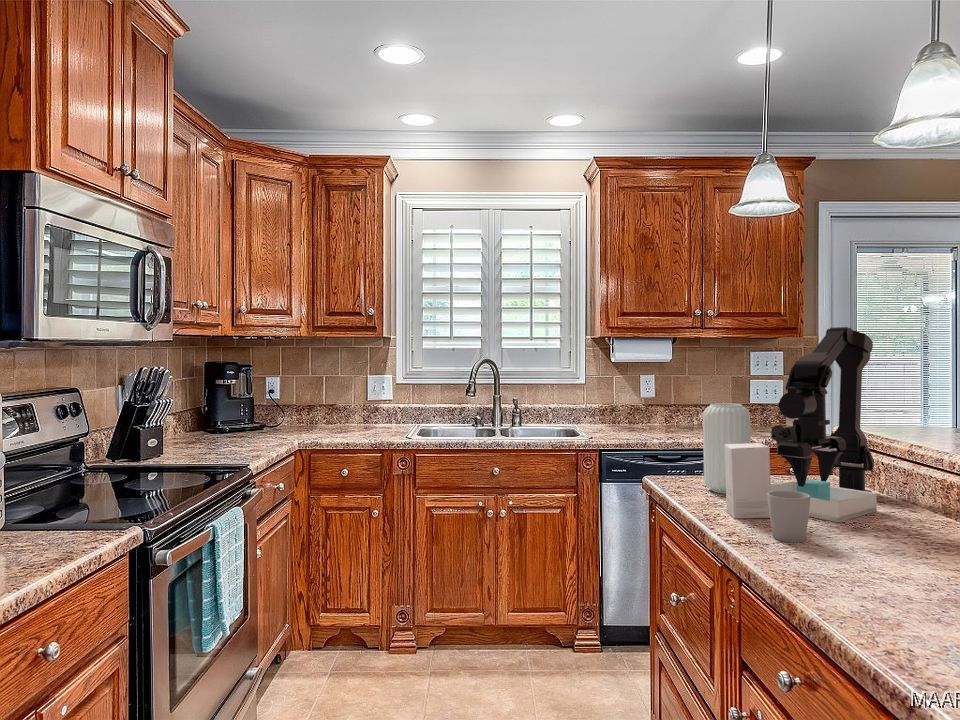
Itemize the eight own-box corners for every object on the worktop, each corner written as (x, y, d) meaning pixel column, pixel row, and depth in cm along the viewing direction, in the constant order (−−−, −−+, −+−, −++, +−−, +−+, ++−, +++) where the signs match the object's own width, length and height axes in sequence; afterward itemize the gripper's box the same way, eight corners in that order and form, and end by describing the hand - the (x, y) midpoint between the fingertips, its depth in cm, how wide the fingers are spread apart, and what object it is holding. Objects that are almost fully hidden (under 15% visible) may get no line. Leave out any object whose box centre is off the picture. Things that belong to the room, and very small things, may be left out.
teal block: (808, 500, 159) (808, 479, 159) (830, 504, 154) (829, 482, 154) (796, 503, 156) (796, 481, 156) (818, 507, 152) (817, 484, 152)
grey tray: (791, 496, 168) (791, 480, 168) (876, 511, 151) (876, 493, 151) (752, 505, 159) (752, 488, 159) (838, 522, 142) (838, 503, 142)
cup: (767, 542, 129) (767, 497, 129) (767, 529, 138) (767, 487, 138) (812, 545, 126) (811, 499, 126) (809, 532, 135) (808, 489, 135)
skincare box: (763, 512, 153) (762, 442, 152) (773, 519, 146) (771, 446, 146) (724, 512, 153) (723, 442, 153) (732, 519, 147) (731, 447, 147)
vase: (745, 486, 181) (744, 402, 181) (756, 495, 170) (755, 406, 169) (700, 486, 183) (699, 403, 182) (708, 495, 171) (707, 406, 171)
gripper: (800, 410, 167) (801, 474, 167) (755, 415, 156) (756, 483, 156) (846, 413, 157) (847, 480, 158) (801, 419, 147) (802, 491, 147)
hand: (812, 483), depth 155 cm, fingers open, 9 cm apart
